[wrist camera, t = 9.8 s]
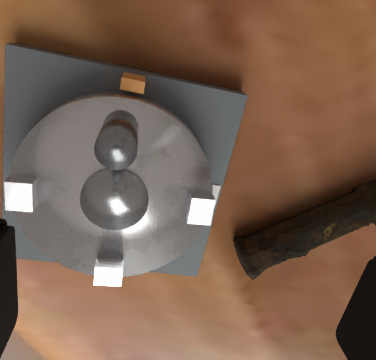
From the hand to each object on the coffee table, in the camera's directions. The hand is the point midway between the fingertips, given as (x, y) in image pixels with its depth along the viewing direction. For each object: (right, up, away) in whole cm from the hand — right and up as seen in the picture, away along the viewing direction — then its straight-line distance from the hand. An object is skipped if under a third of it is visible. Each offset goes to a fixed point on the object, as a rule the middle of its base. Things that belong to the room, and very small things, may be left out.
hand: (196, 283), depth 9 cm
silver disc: (-6, +3, +20) cm, 21 cm away
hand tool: (+13, 0, +26) cm, 29 cm away
